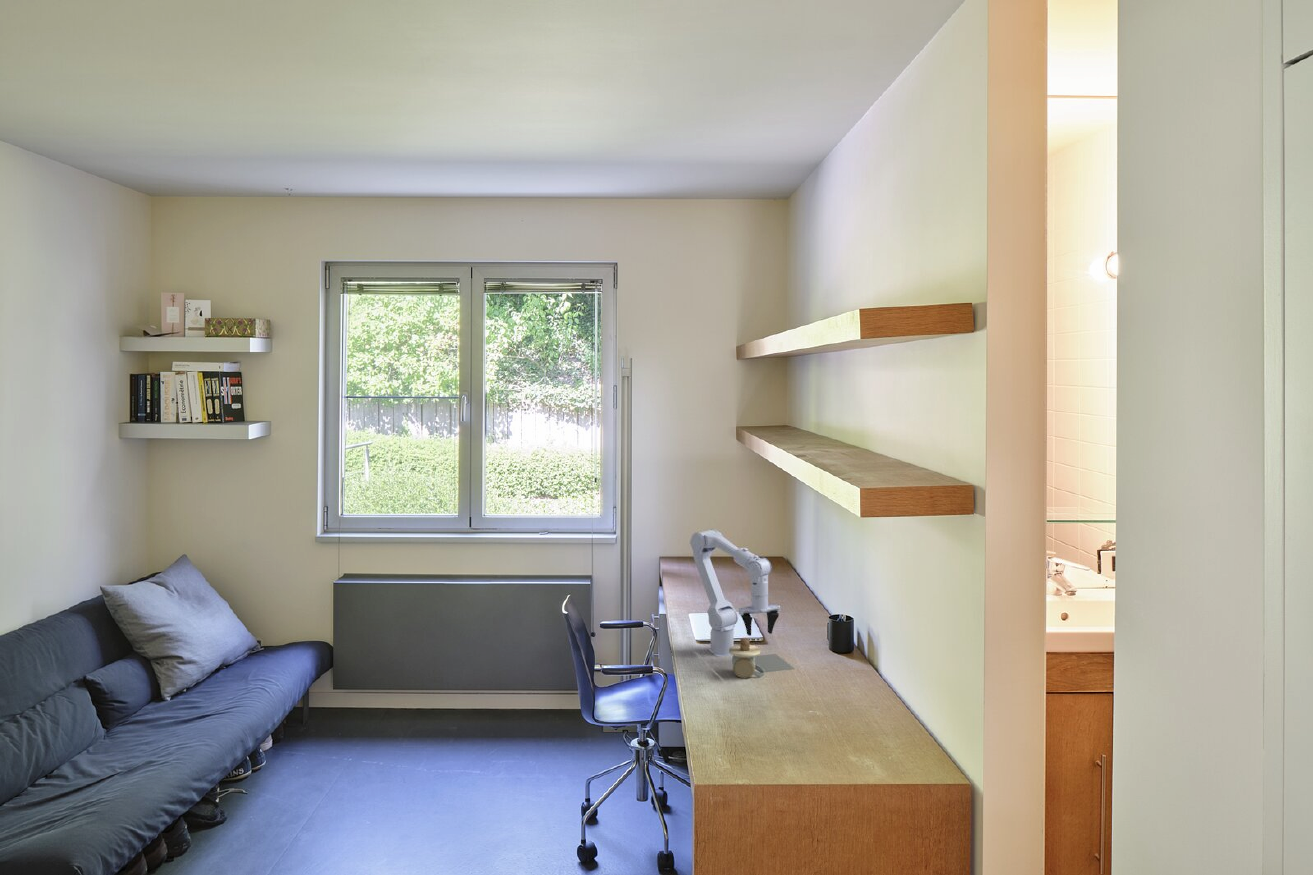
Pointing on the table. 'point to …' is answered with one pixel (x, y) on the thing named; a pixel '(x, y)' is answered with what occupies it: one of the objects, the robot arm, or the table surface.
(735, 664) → the ceramic mug
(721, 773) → the table surface
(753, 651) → the lid
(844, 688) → the table surface
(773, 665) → the mat
